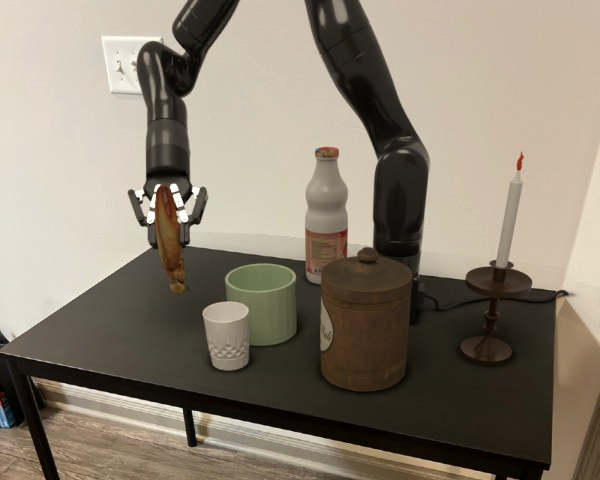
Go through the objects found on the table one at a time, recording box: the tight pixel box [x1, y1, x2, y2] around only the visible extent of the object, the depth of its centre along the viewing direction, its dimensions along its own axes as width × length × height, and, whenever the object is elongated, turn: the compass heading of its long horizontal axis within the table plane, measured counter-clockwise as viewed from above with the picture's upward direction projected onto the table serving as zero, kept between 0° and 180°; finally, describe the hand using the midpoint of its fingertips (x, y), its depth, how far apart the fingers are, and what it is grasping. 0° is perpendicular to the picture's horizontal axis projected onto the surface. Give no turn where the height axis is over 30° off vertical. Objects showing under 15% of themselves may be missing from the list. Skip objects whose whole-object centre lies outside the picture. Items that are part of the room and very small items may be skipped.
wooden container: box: [319, 246, 412, 393], centre depth 100 cm, size 15×15×22 cm
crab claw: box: [155, 185, 190, 296], centre depth 104 cm, size 7×5×20 cm
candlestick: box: [459, 151, 533, 367], centre depth 101 cm, size 11×11×35 cm
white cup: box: [202, 301, 250, 372], centre depth 107 cm, size 8×8×10 cm
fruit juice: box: [304, 146, 349, 286], centre depth 131 cm, size 9×9×28 cm
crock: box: [224, 263, 298, 347], centre depth 116 cm, size 13×13×11 cm
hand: (169, 246), depth 103 cm, fingers closed on crab claw, 4 cm apart
